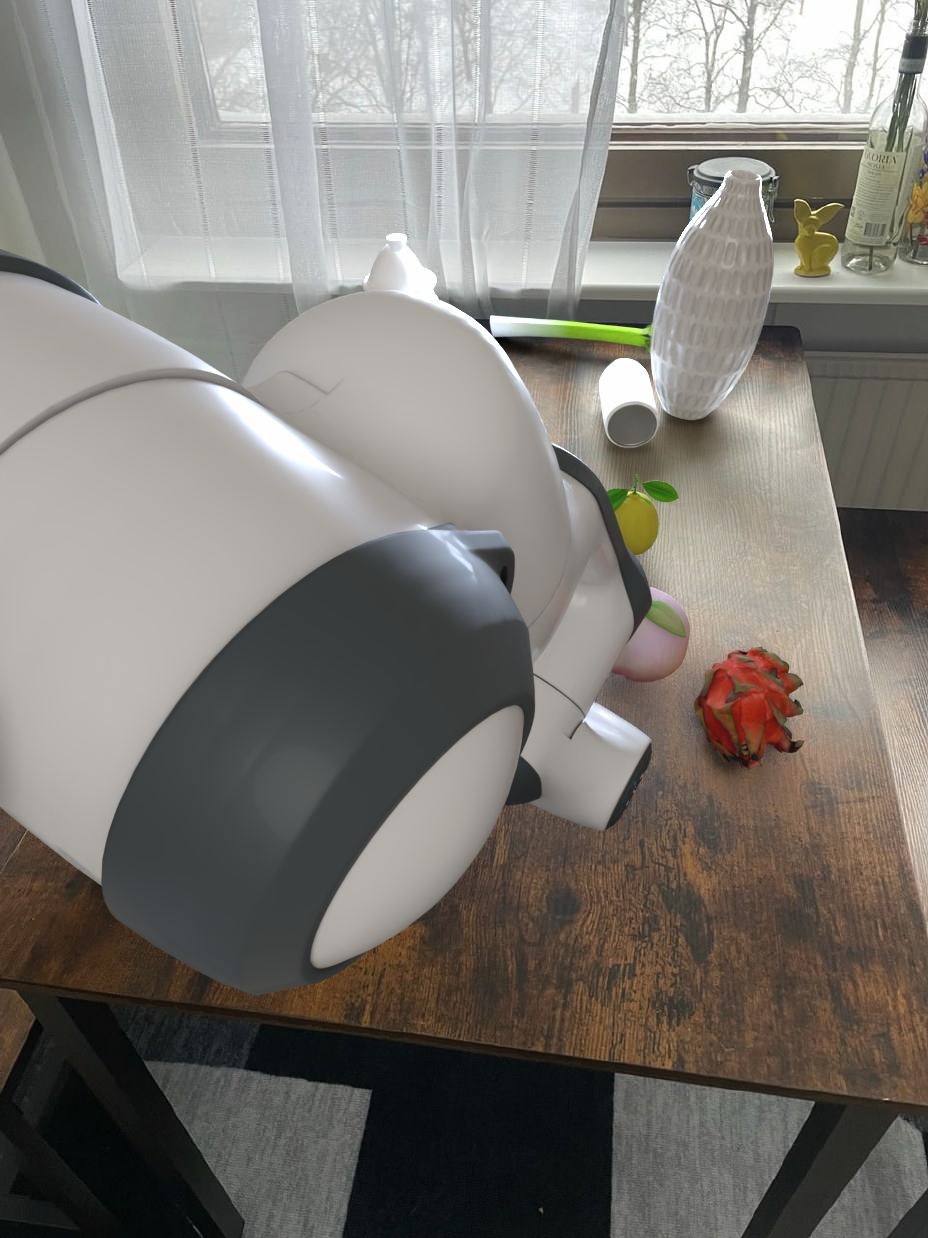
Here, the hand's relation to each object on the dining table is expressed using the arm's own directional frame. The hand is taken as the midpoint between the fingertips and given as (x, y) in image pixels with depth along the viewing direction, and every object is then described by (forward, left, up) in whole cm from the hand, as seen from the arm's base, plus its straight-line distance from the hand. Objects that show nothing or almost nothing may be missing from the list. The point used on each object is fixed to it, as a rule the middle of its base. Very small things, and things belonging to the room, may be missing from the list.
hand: (319, 628), depth 78 cm
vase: (+62, -10, -9) cm, 64 cm away
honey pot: (+58, +30, -9) cm, 66 cm away
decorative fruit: (+16, -23, -9) cm, 29 cm away
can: (+50, -8, -5) cm, 51 cm away
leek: (+75, +8, -6) cm, 76 cm away
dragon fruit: (+13, -34, -9) cm, 37 cm away
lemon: (+32, -16, -9) cm, 36 cm away
